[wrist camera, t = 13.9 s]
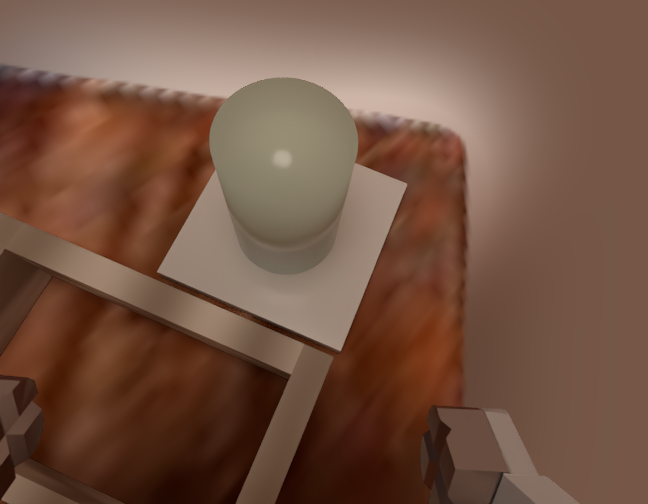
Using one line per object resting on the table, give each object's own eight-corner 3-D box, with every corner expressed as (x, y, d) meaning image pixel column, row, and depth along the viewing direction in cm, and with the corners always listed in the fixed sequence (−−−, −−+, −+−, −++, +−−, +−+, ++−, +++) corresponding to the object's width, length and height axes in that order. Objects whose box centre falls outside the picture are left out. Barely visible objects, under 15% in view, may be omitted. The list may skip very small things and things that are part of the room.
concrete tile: (161, 276, 29) (157, 271, 28) (245, 127, 33) (244, 118, 32) (339, 353, 28) (340, 351, 27) (403, 190, 32) (407, 184, 31)
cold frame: (-84, 433, 25) (-171, 438, 20) (44, 243, 29) (-4, 210, 24) (237, 586, 24) (223, 629, 19) (326, 366, 28) (333, 356, 23)
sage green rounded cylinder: (218, 250, 29) (182, 170, 19) (262, 167, 31) (249, 58, 21) (313, 290, 28) (324, 229, 19) (351, 203, 30) (379, 108, 21)
